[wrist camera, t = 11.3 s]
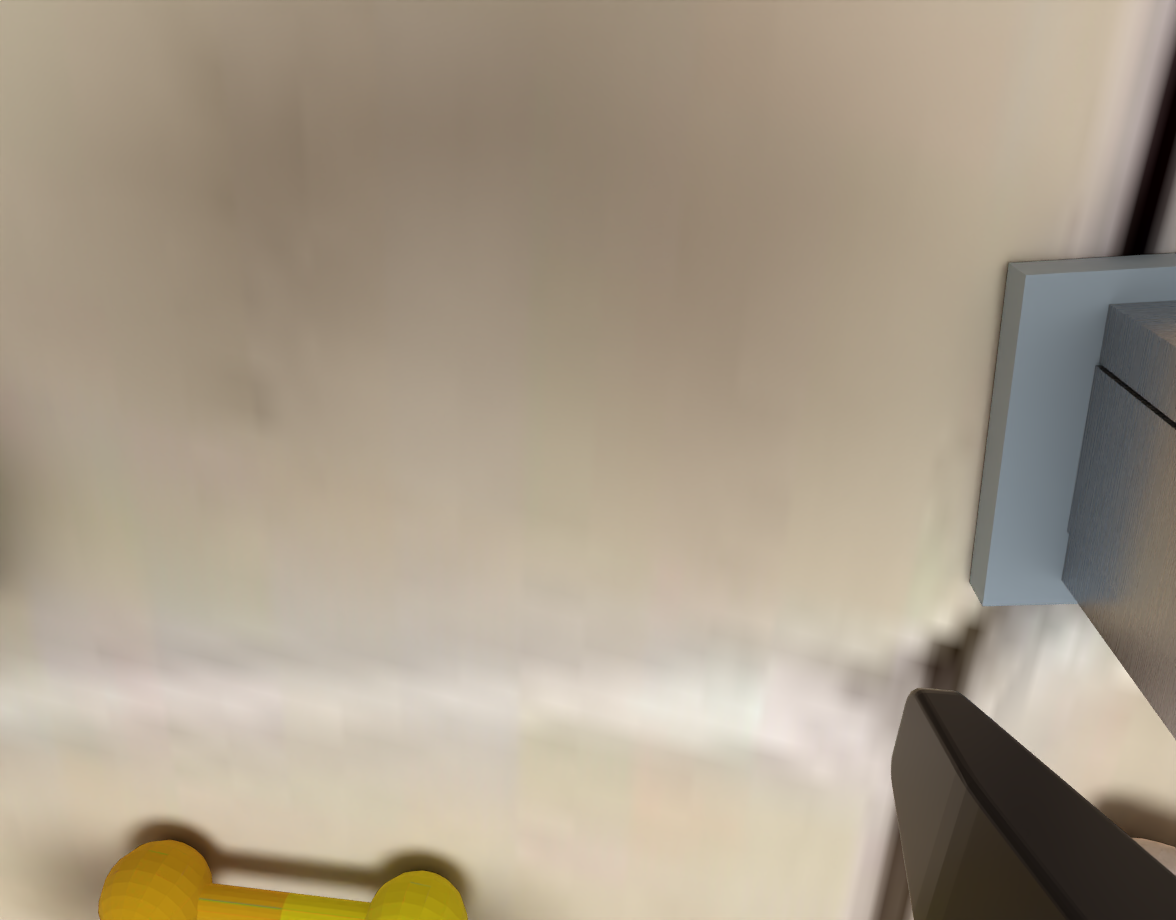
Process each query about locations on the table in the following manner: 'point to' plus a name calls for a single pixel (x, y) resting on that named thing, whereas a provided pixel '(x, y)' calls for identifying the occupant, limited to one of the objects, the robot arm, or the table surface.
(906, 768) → the robot arm
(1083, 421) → the shaft stand
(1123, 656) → the open metal box
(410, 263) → the table surface
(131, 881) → the educational toy
